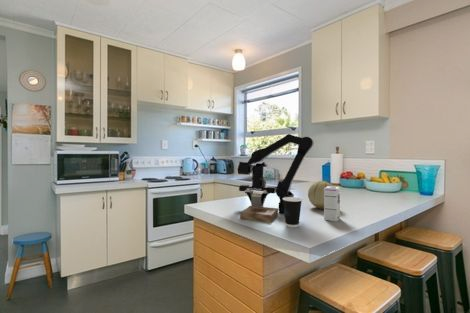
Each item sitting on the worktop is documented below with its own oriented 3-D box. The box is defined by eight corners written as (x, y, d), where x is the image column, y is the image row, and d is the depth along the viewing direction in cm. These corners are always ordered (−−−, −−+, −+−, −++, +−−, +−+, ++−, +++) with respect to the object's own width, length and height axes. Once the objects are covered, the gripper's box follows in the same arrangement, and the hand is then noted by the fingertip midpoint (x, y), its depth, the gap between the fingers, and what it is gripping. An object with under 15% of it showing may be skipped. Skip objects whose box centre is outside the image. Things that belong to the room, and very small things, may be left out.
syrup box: (337, 221, 109) (338, 188, 109) (323, 219, 112) (324, 187, 112) (339, 218, 114) (340, 186, 114) (326, 216, 117) (326, 185, 117)
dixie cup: (303, 224, 105) (303, 197, 105) (300, 229, 98) (300, 201, 98) (284, 221, 108) (284, 196, 108) (280, 226, 101) (280, 199, 101)
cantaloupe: (308, 210, 129) (308, 181, 129) (307, 204, 143) (307, 178, 143) (339, 212, 126) (339, 182, 125) (334, 206, 140) (335, 179, 140)
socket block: (277, 214, 120) (278, 208, 120) (270, 222, 107) (271, 215, 107) (250, 211, 125) (250, 205, 125) (240, 218, 112) (240, 212, 112)
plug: (263, 209, 132) (263, 193, 131) (260, 211, 127) (260, 195, 127) (254, 208, 134) (254, 193, 133) (251, 210, 129) (251, 194, 129)
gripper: (278, 174, 134) (278, 203, 134) (245, 173, 141) (245, 201, 141) (274, 176, 124) (273, 208, 124) (238, 175, 130) (238, 205, 131)
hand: (257, 205), depth 130 cm, fingers closed on plug, 5 cm apart
